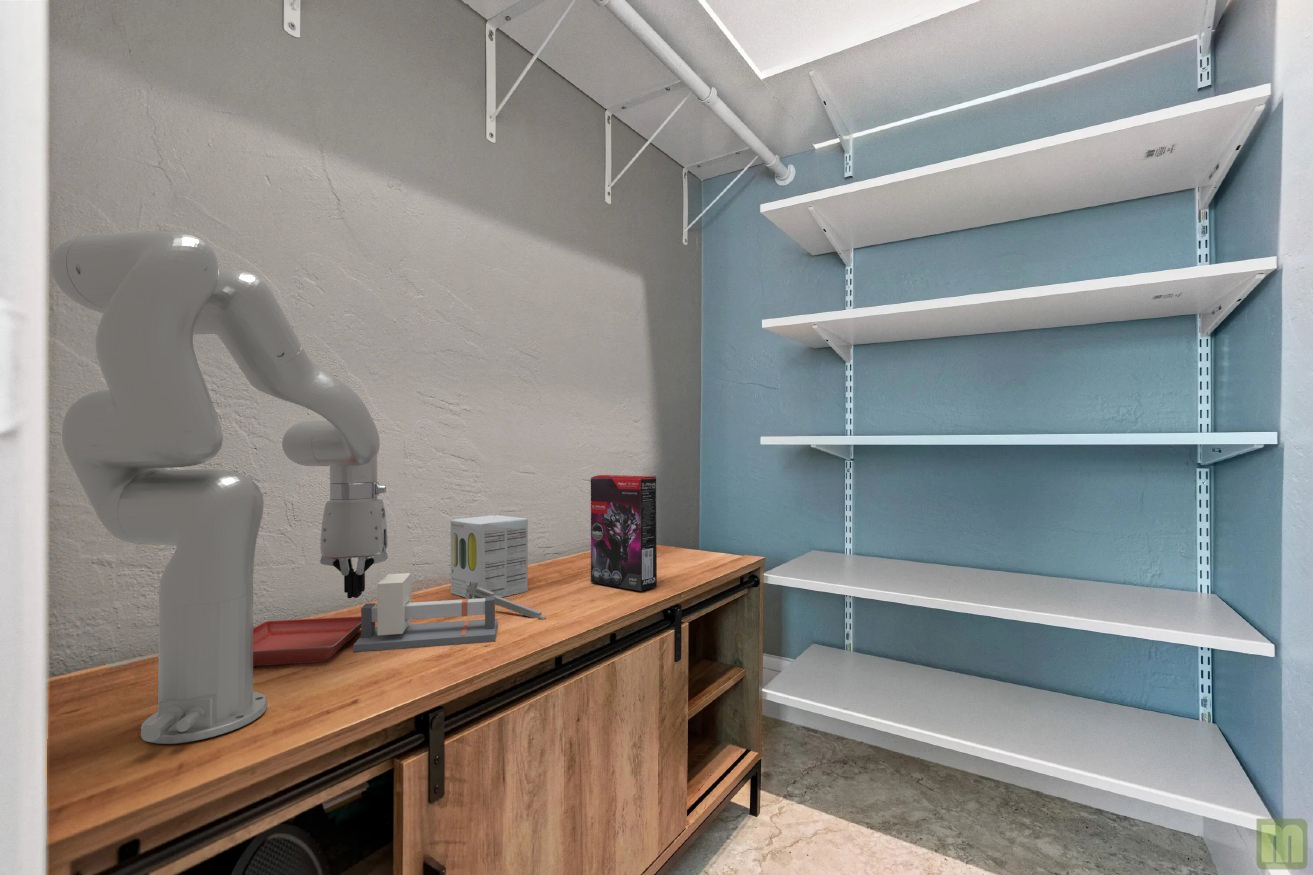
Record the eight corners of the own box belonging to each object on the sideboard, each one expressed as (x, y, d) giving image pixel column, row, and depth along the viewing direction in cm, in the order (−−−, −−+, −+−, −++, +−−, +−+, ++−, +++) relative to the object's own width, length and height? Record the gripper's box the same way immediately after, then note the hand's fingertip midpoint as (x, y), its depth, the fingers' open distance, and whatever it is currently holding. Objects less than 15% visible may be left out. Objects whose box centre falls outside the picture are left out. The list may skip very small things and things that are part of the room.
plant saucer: (265, 637, 108) (265, 619, 108) (369, 632, 111) (369, 614, 111) (206, 675, 90) (207, 653, 90) (333, 667, 93) (333, 646, 93)
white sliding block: (402, 633, 102) (402, 582, 102) (377, 635, 101) (377, 583, 101) (411, 620, 110) (411, 572, 110) (387, 621, 109) (388, 574, 109)
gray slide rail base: (495, 641, 104) (494, 604, 104) (353, 651, 99) (353, 613, 99) (497, 624, 114) (497, 591, 114) (368, 633, 109) (368, 598, 109)
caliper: (464, 609, 126) (465, 580, 126) (468, 608, 127) (468, 579, 127) (543, 621, 117) (543, 589, 117) (546, 619, 118) (546, 588, 118)
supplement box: (448, 593, 139) (448, 519, 139) (496, 583, 149) (496, 514, 149) (481, 602, 130) (481, 523, 131) (529, 591, 140) (529, 518, 141)
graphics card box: (588, 583, 148) (588, 475, 149) (606, 578, 154) (606, 474, 154) (641, 593, 138) (640, 477, 138) (659, 587, 143) (658, 475, 144)
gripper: (403, 489, 110) (404, 588, 110) (314, 491, 106) (315, 593, 106) (394, 493, 102) (395, 598, 102) (299, 495, 99) (300, 604, 99)
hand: (354, 595), depth 104 cm, fingers closed
